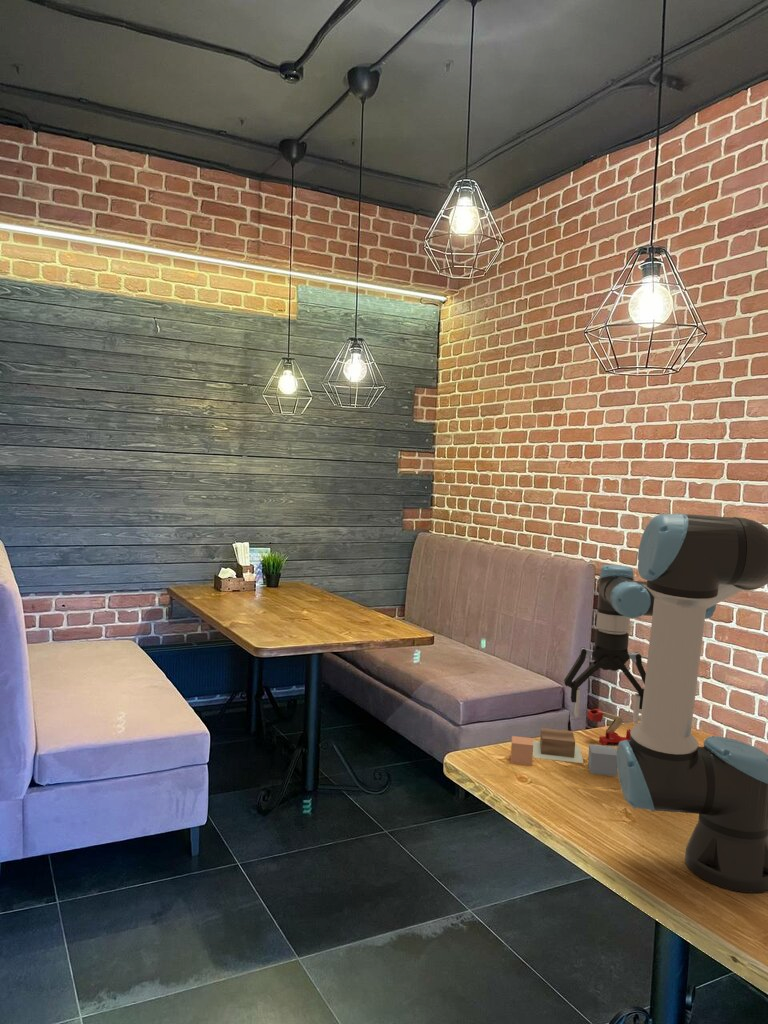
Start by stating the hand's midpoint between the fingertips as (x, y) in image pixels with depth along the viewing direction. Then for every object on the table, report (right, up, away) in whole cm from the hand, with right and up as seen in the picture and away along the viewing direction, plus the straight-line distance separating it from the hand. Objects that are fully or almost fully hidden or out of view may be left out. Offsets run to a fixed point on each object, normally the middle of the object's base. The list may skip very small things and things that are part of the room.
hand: (605, 719), depth 180 cm
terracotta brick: (-20, -12, +4) cm, 23 cm away
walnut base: (-9, -11, +12) cm, 19 cm away
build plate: (-9, -12, +11) cm, 19 cm away
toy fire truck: (+7, -13, +19) cm, 25 cm away
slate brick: (-1, -13, 0) cm, 13 cm away
